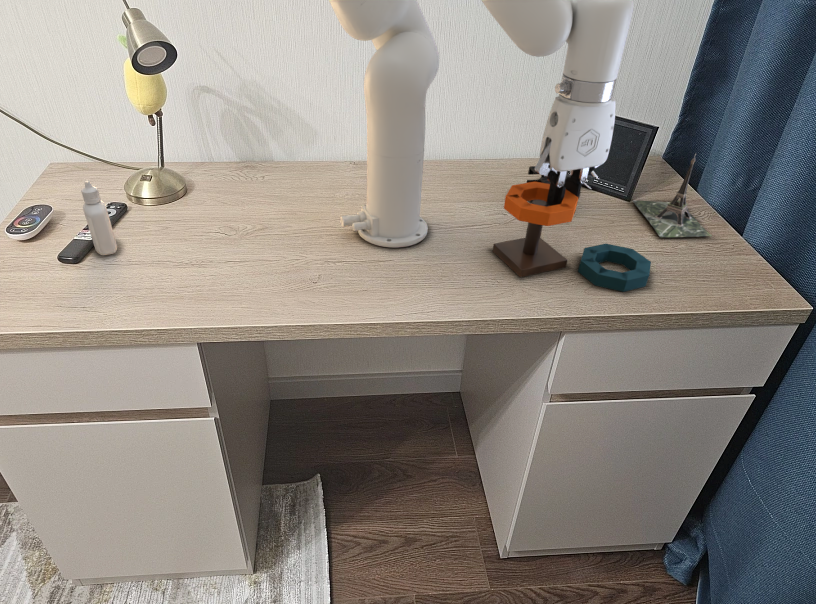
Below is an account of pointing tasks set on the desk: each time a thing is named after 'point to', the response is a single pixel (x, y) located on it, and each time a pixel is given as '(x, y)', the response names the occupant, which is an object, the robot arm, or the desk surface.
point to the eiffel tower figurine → (673, 214)
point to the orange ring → (538, 213)
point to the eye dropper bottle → (98, 221)
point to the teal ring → (609, 277)
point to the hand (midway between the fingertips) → (561, 204)
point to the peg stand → (530, 252)
